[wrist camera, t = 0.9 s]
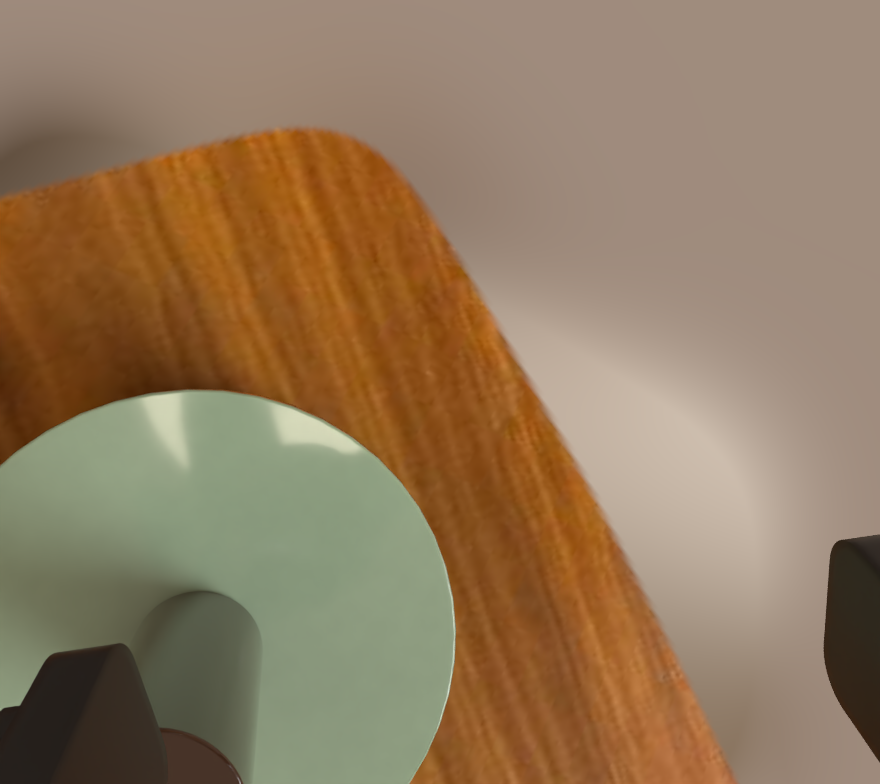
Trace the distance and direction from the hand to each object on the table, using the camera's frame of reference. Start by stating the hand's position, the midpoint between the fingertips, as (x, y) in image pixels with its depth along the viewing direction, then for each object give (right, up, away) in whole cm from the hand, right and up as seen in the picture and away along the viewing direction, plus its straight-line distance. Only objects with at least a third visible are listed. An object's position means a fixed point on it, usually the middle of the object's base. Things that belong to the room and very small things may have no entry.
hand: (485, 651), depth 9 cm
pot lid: (-6, -3, +9) cm, 11 cm away
